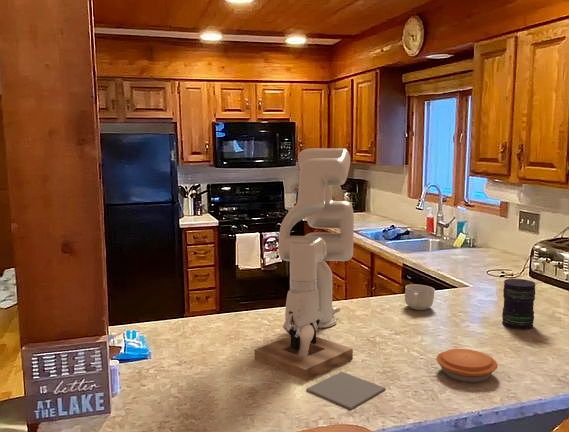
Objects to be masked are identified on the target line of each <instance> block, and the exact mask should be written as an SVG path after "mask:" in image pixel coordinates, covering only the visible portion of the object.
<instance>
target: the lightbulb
mask: <svg viewBox="0 0 569 432" xmlns="http://www.w3.org/2000/svg"><path fill="white" fill-rule="evenodd" d="M295 330H296V327H294V331H295ZM313 336H314V329H313V327H312V325H311V324H307V325H304V326H301V328H300V332H299V337H300V350H299V352H298V356H301V357H304V358H305V357H308V356H309V353H308V350H309V345H310V342H311V340H312V338H313Z"/></svg>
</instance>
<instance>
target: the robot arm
mask: <svg viewBox="0 0 569 432" xmlns="http://www.w3.org/2000/svg"><path fill="white" fill-rule="evenodd" d="M297 161H298V166H299V169H300V170H299V179H298V189H297V190H298V192H297V202H296V204H295V205H294V206H293V207H292V208H291V209H290V210H289V211H288V213H286V214H285V216H284V218H283V219H282V222H281V224H280V228H279V234H278V236H279V237H278V243H277V245H278V246H277V248H278V249H277V251H278V255H279V258H280V259H281V260H282V261H284V262H285V261H286V262H289V290H288V291H287V295H286V301H285V310H284V311H285V314H284V315H285V317H284V318H285V319H284V320H285V321H284V322H283V325H282V328H283V329H284V330H285V332H287V333H288V335H289V336H291V348H292V349H295V350H297V351H299V350H300V337H299V332H300V328H301V326H304V325H307V324H311V325H312V327H313V329H314V336H313V338H312V340H311V342H310V343H312V344H316V337H317V331H318V329H322V328H330V327H333V326H335V325H336V324H337V318H336V316H335V314H337V313H339V312H340V311H341V308H340V307H339V306H335V307H333V272H332V269H331V268H330V266H329V265H328V263H327V262H329V261H330V262H347V261H350V260H351V259H352V258H353V256H354V235H355V234H354V233H355V232H354V231H355V230H354V229H355V228H354V226H355V222H354V221H355V220H354V218H355V217H354V215H355V214H354V208H353V205H352V204H351V203H350V202H348V201H347V200H334V199H333V198H332V197H333V186H342V185H344V184H345V183H346V181H347V179H348V175H349V171H350V167H351V166H350V165H351V155H350V153H349V151H348V150H347V149H346V148H342V147H341V148H333V147H332V148H331V147H330V148H322V147H320V148H319V147H317V148H314V147H313V148H306V149H303V150H301V151H300V152H299V153H298V157H297ZM304 219H306V222H307V224H308V226H309V227H311V228H313V229H314V228H315V229H327V230H328V229H331V230H332V229H334V230H335V229H337V230H339V231H340V232H321V231H319V232H318V231H317V232H315V231H314V232H310V233H307V234H305V235H291V230H292V228H293V227H294V226H295V225H296V224H297V223H299V222H300V221H302V220H304ZM326 261H327V262H326ZM294 327H296V330H295V331H294Z"/></svg>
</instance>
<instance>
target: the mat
mask: <svg viewBox="0 0 569 432" xmlns="http://www.w3.org/2000/svg"><path fill="white" fill-rule="evenodd" d="M385 390H386V387H384V386H381V385H378V384H376V383H375V382H372V381H368V380H365V379H363V378H360V377H357V376H355V375H352V374H349V373H347V372H344V371H340V372H338V373H336V374H333V375H332V376H330V377H327V378H326V379H323V380H321V381H319V382H318V383H316V384H313V385H311V386H309V387H307V388H306V391H307V392H309V393H311V394H314V395H316V396H318V397H320V398H323V399H325V400H328V401H329V402H332V403H334V404H337V405H339V406H340V407H344V408H345V409H349V410H353V409H354V408H355V409H356V408H357V407H358V406H360V405H363V403H365V402H367V401H368V400H371V399H372V398H374V397H375V396H377V395H379V394H381V393H383V392H384V391H385Z"/></svg>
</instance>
